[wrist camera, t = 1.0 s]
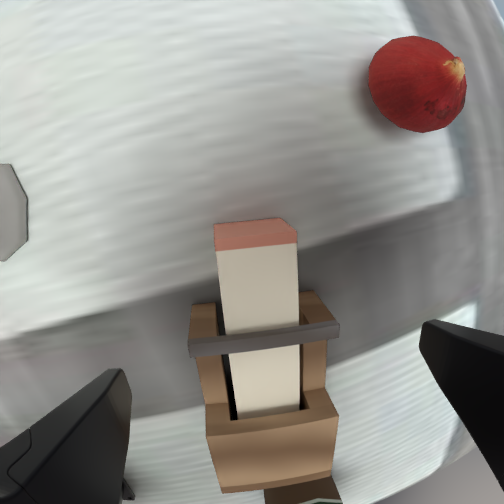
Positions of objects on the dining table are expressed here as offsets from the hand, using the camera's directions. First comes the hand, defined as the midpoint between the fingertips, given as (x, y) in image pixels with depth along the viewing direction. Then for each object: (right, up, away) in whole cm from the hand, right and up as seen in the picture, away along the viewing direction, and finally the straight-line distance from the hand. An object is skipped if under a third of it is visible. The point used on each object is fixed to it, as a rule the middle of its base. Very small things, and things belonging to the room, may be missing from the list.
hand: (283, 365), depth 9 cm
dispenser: (0, -6, +14) cm, 15 cm away
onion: (+8, +14, +10) cm, 19 cm away
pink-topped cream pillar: (-1, -2, +13) cm, 13 cm away
